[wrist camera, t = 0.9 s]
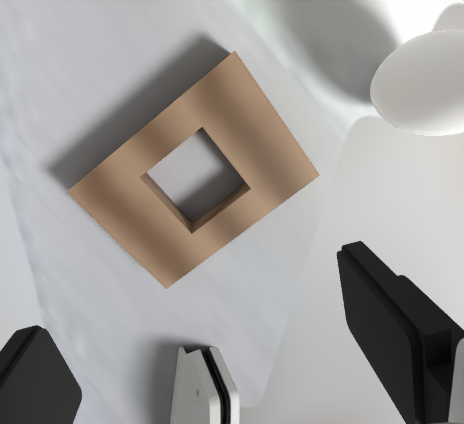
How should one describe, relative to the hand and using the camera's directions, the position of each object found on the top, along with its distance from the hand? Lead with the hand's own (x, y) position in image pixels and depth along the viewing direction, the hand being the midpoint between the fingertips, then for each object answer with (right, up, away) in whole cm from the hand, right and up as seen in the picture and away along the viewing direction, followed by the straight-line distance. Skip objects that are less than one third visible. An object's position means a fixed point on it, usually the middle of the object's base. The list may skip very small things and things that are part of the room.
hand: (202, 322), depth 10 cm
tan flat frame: (-3, +7, +25) cm, 26 cm away
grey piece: (-3, -21, +35) cm, 41 cm away
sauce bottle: (+17, +16, +23) cm, 33 cm away
